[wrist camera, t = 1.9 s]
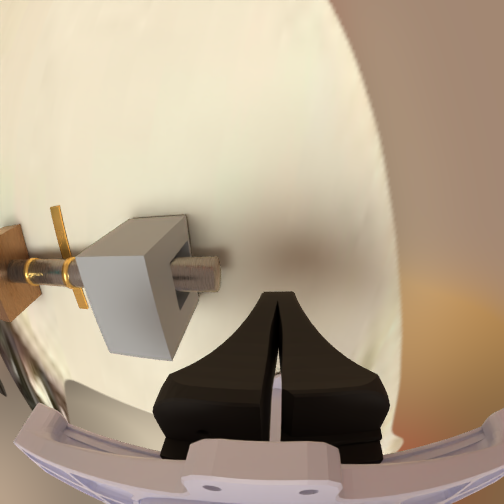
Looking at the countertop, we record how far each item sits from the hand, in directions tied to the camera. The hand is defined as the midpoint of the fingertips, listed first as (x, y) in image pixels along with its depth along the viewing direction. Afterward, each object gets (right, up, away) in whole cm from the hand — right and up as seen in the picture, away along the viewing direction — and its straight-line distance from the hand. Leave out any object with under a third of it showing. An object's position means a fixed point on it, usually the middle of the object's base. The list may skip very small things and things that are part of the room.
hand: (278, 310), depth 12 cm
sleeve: (-7, +2, +6) cm, 9 cm away
